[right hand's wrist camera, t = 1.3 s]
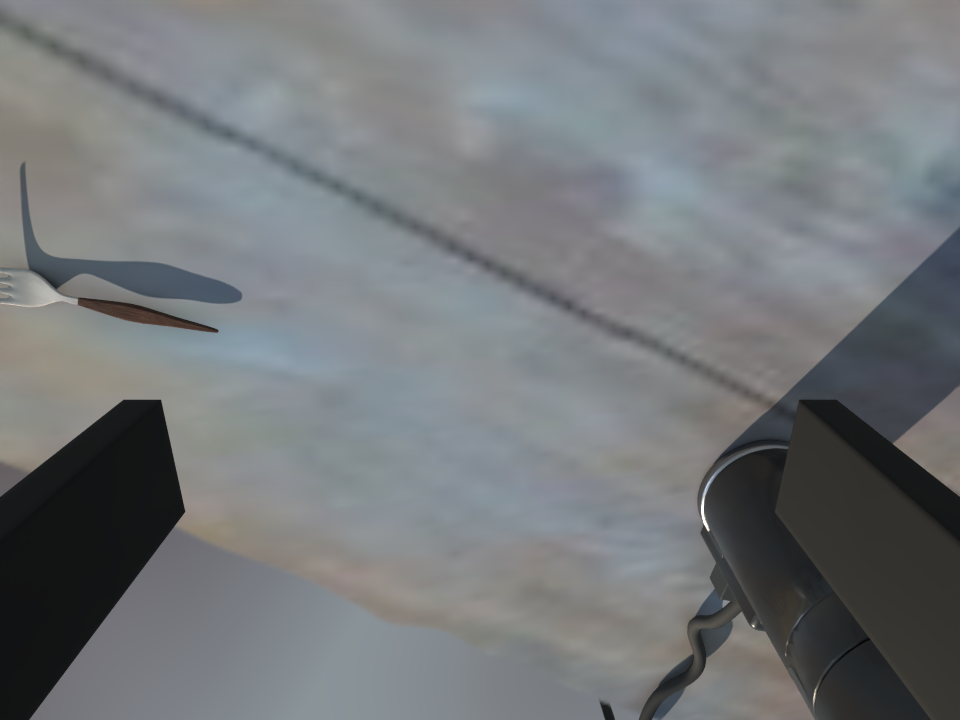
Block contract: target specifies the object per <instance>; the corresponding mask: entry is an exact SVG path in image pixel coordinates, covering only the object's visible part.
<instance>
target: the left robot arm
mask: <svg viewBox="0 0 960 720" xmlns="http://www.w3.org/2000/svg"><path fill="white" fill-rule="evenodd" d="M789 444H790V443H788V442H783V441H774V440H766V441H758V442H753V443H749V444H746V445H743V446H741V447H738V448H736V449H734V450H732V451H731V452H729V453H727V454H726V455H724V456H723V457H722V458H720V459H719V460H718V461H717V462H716V463H715V464H714V465H713V466H712V467H711V468H710V470H709V471H708V472H707V474H706V475H705V477H704V479H703V481H702V483H701V486H700V488H699V492H698V510H699V514H700V517H701V519H702V521H703V523H704V526H703V529H702V531H701V535H702V537H703V539H704V541H705V543H706V545H707V546H708V548H709V550H710V552H711V554H712V556H713V558H714V560H715V562H716V565H715V567H714V569H713V571H712V574H711V576H710V579H711V581H712V583H713V585H714V587H715V589H716V591H717V593H718V595H719V597H720V599H722V600H727V601H730V602H729V603H728V604H727V605H726V606H725V607H724V608H722V609H721V610H720V611H718V612H717V613H715V614H713V615H708V616H696V617H694V618H693V619H692V620H690V622H689V624H688V638H689V641H690V644H691V646H692V649H693V653H694V661H693V663H692V665H691V666H690V667H689V668H688V669H687V670H686V671H685V672H683V673H682V674H680V675H678V676H677V677H675V678H673V679H671V680H669V681H667V682H666V683H664V684H662V685H661V686H660V687H658V688H657V689H656V690H655V691H654V692H653V693H652V695H651V696H650V697H649V699H648V700H647V702H646V704H645V706H644V708H643V710H642V712H641V715H640V718H639V720H652V718H653V716H654V714H655V712H656V710H657V708H658V707H659V705H660V704H661V703H662V702H663V701H664V700H665V699H666V698H667V697H668V696H670V695H671V694H673V693H675V692H677V691H679V690H681V689H683V688H684V687H686V686H688V685H690V684H691V683H693V682H694V681H695V680H696V679H698V677H699V676H700V675H701V674H702V672H703V670H704V668H705V664H706V652H705V648H704V645H703V642H702V639H701V636H700V630H701V629H715V628H719V627H721V626H723V625H725V624H727V623H728V622H729V621H731V620H732V619H733V618H735V617H736V616H737V615H738V614H739V613H740V612H741V611H742V612H743V614H744V616H745V618H746V620H747V622H748V623H749V625H750V626H751V627H752V628H754V629H756V630H759V631H765V632H766V633H767V635H768V637H769V639H770V640H771V642H772V644H773V646H774V648H775V649H776V651H777V653H778V655H779V656H780V658H781V660H782V662H783V664H784V665H785V667H786V669H787V671H788V673H789V674H790V676H791V678H792V679H793V681H794V683H795V685H796V687H797V688H798V690H799V692H800V694H801V696H802V697H803V699H804V701H805V703H806V704H807V706H808V708H809V710H810V712H811V713H812V715H813V717H814V719H815V720H931V719H930V718H929V717H928V715H927V714H926V713H925V711H924V710H923V709H922V707H921V706H920V705H919V703H918V702H917V701H916V699H915V698H914V697H913V695H912V694H911V693H910V691H909V690H908V689H907V687H906V686H905V685H904V683H903V682H902V681H901V679H900V678H899V677H898V675H897V674H896V673H895V671H894V670H893V669H892V667H891V666H890V665H889V663H888V662H887V661H886V659H885V658H884V657H883V655H882V654H881V653H880V651H879V650H878V649H877V647H876V646H875V645H874V643H873V642H872V641H871V639H870V638H869V637H868V635H867V634H866V633H865V631H864V630H863V629H862V627H861V626H860V625H859V623H858V622H857V621H856V619H855V618H854V617H853V615H852V614H851V613H850V611H849V610H848V609H847V607H846V606H845V605H844V603H843V602H842V601H841V599H840V598H839V597H838V595H837V594H836V593H835V591H834V590H833V589H832V587H831V586H830V585H829V583H828V582H827V581H826V579H825V578H824V577H823V575H822V574H821V573H820V571H819V570H818V569H817V567H816V566H815V565H814V563H813V562H812V561H811V559H810V558H809V557H808V555H807V554H806V553H805V551H804V550H803V549H802V547H801V546H800V545H799V543H798V542H797V541H796V539H795V538H794V537H793V535H792V534H791V533H790V531H789V530H788V529H787V527H786V526H785V525H784V523H783V522H782V521H781V519H780V518H779V517H778V515H777V514H776V513H775V509H776V504H777V499H778V495H779V490H780V485H781V481H782V476H783V472H784V467H785V462H786V458H787V453H788V449H789ZM599 702H600V705H601V708H602V712H603V715H604V718H605V720H615V718H614V714H613V711H612V708H611V705H610V704H608V703H605V702H602V701H599Z"/></svg>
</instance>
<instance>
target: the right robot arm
mask: <svg viewBox="0 0 960 720" xmlns="http://www.w3.org/2000/svg"><path fill="white" fill-rule="evenodd" d="M184 513H185V509H184V504H183V499H182V495H181V490H180V485H179V481H178V476H177V472H176V467H175V462H174V458H173V453H172V449H171V444H170V439H169V435H168V430H167V426H166V421H165V416H164V412H163V407H162V402H161V400H123V401H122V402H120V403H119V404H118V405H116V406H115V407H114V408H113V409H111V410H110V411H109V412H108V413H106V414H105V415H104V416H102V417H101V418H100V419H99V420H97V421H96V422H95V423H94V424H92V425H91V426H90V427H89V428H87V429H86V430H85V431H83V432H82V433H81V434H80V435H78V436H77V437H76V438H75V439H73V440H72V441H71V442H69V443H68V444H67V445H66V446H64V447H63V448H62V449H61V450H59V451H58V452H57V453H56V454H54V455H53V456H52V457H50V458H49V459H48V460H47V461H45V462H44V463H43V464H42V465H40V466H39V467H38V468H36V469H35V470H34V471H33V472H31V473H30V474H29V475H28V476H26V477H25V478H24V479H23V480H21V481H20V482H19V483H17V484H16V485H15V486H14V487H12V488H11V489H10V490H9V491H7V492H6V493H5V494H4V495H2V496H1V497H0V720H29V719H30V718H31V717H32V715H33V714H34V713H35V711H36V710H37V708H38V707H39V706H40V705H41V703H42V702H43V701H44V699H45V698H46V696H47V695H48V694H49V693H50V691H51V690H52V689H53V687H54V686H55V684H56V683H57V682H58V680H59V679H60V678H61V677H62V675H63V674H64V673H65V671H66V670H67V669H68V667H69V666H70V665H71V663H72V662H73V661H74V659H75V658H76V657H77V655H78V654H79V653H80V651H81V650H82V649H83V647H84V646H85V645H86V643H87V642H88V641H89V639H90V638H91V637H92V635H93V634H94V633H95V631H96V630H97V629H98V627H99V626H100V625H101V623H102V622H103V621H104V619H105V618H106V617H107V615H108V614H109V613H110V611H111V610H112V609H113V607H114V606H115V605H116V603H117V602H118V601H119V599H120V598H121V597H122V595H123V594H124V593H125V591H126V590H127V589H128V587H129V586H130V585H131V583H132V582H133V581H134V579H135V578H136V577H137V575H138V574H139V573H140V571H141V570H142V569H143V567H144V566H145V565H146V563H147V562H148V561H149V559H150V558H151V557H152V555H153V554H154V553H155V551H156V550H157V549H158V547H159V546H160V545H161V543H162V542H163V541H164V539H165V538H166V537H167V535H168V534H169V533H170V531H171V530H172V529H173V527H174V526H175V525H176V523H177V522H178V521H179V519H180V518H181V517H182V515H183V514H184ZM775 513H776V514H777V515H778V517H779V518H780V519H781V521H782V522H783V523H784V525H785V526H786V527H787V529H788V530H789V531H790V533H791V534H792V535H793V537H794V538H795V539H796V541H797V542H798V543H799V545H800V546H801V547H802V549H803V550H804V551H805V553H806V554H807V555H808V557H809V558H810V559H811V561H812V562H813V563H814V565H815V566H816V567H817V569H818V570H819V571H820V573H821V574H822V575H823V577H824V578H825V579H826V581H827V582H828V583H829V585H830V586H831V587H832V589H833V590H834V591H835V593H836V594H837V595H838V597H839V598H840V599H841V601H842V602H843V603H844V605H845V606H846V607H847V609H848V610H849V611H850V613H851V614H852V615H853V617H854V618H855V619H856V621H857V622H858V623H859V625H860V626H861V627H862V629H863V630H864V631H865V633H866V634H867V635H868V637H869V638H870V639H871V641H872V642H873V643H874V645H875V646H876V647H877V649H878V650H879V651H880V653H881V654H882V655H883V657H884V658H885V659H886V661H887V662H888V663H889V665H890V666H891V667H892V669H893V670H894V671H895V673H896V674H897V675H898V677H899V678H900V679H901V681H902V682H903V683H904V685H905V686H906V687H907V689H908V690H909V691H910V693H911V694H912V695H913V697H914V698H915V699H916V701H917V702H918V703H919V705H920V706H921V707H922V709H923V710H924V711H925V713H926V714H927V715H928V717H929V718H930V719H931V720H960V497H959V496H958V495H957V494H955V493H954V492H953V491H951V490H950V489H949V488H948V487H946V486H945V485H944V484H943V483H941V482H940V481H939V480H937V479H936V478H935V477H934V476H932V475H931V474H930V473H929V472H927V471H926V470H925V469H924V468H922V467H921V466H920V465H918V464H917V463H916V462H915V461H913V460H912V459H911V458H910V457H908V456H907V455H906V454H904V453H903V452H902V451H901V450H899V449H898V448H897V447H896V446H894V445H893V444H892V443H891V442H889V441H888V440H887V439H885V438H884V437H883V436H882V435H880V434H879V433H878V432H877V431H875V430H874V429H873V428H871V427H870V426H869V425H868V424H866V423H865V422H864V421H863V420H861V419H860V418H859V417H858V416H856V415H855V414H854V413H852V412H851V411H850V410H849V409H847V408H846V407H845V406H844V405H842V404H841V403H840V402H838V401H837V400H799V402H798V407H797V412H796V416H795V421H794V426H793V430H792V435H791V439H790V444H789V449H788V453H787V458H786V462H785V467H784V472H783V476H782V481H781V485H780V490H779V495H778V499H777V504H776V509H775Z"/></svg>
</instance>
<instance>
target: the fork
mask: <svg viewBox="0 0 960 720" xmlns="http://www.w3.org/2000/svg"><path fill="white" fill-rule="evenodd" d="M0 273H4V274H7V275H9V277H7V278H0V283H2V284H7V285H9V287H8V288H0V294H7V295H9V296H10V297H9V298H2V299H0V304H10V305H17V306H26V307H38V306H43V305H47V304H50V303H53V302H57V301H65V302H69V303H73V304H76V305H79V306H83V307H86V308H89V309H92V310H95V311H98V312H101V313H104V314H107V315H110V316H113V317H117V318H120V319H124V320H128V321H132V322H138V323H145V324H153V325H161V326H170V327H177V328H184V329H191V330H199V331H206V332H216V333H217V332H218V330H217V329H215V328H212V327H209V326H205V325H202V324H199V323H195V322H192V321H188V320H185V319H181V318H178V317H174V316H171V315H168V314H165V313H162V312H159V311H155V310H152V309H149V308H146V307H142V306H138V305H134V304H129V303H122V302H114V301H106V300H97V299H87V298H79V297H72V296H67V295H64V294H62V293H60V292H59V291H58V290H56V289H55V288H54V287H53V286H52V285H51V284H50V283H49V282H48V281H47V280H46V279H44V278H43V277H42V276H40V275H39V274H37V273H35V272H33V271H31V270H27V269H21V268H0Z"/></svg>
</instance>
